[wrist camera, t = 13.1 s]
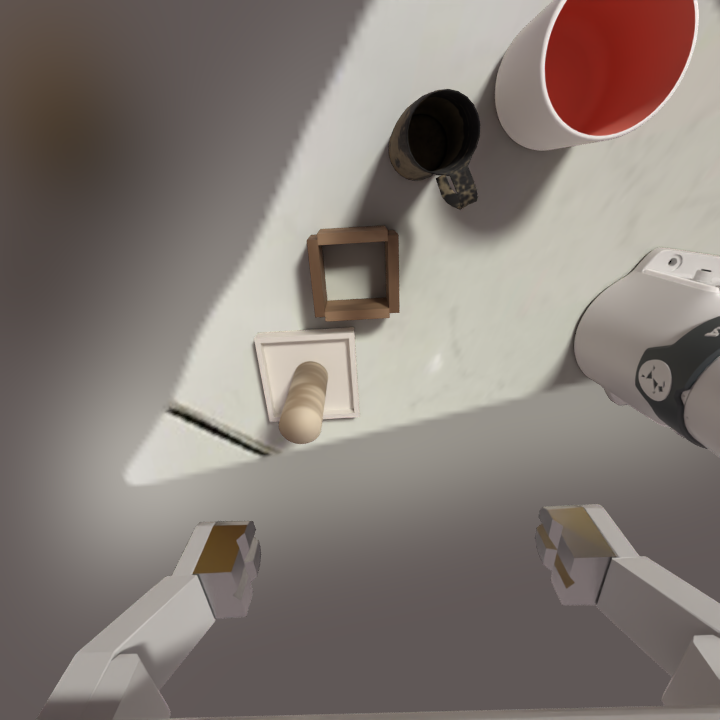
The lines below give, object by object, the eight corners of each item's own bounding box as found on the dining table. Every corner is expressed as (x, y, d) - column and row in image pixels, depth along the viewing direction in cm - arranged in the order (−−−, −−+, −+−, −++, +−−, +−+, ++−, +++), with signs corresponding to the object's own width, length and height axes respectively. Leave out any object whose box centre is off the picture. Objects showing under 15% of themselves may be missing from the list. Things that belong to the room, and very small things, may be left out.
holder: (394, 224, 38) (398, 229, 34) (395, 305, 42) (399, 317, 38) (310, 229, 38) (306, 234, 34) (319, 310, 42) (315, 322, 38)
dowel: (326, 360, 43) (319, 407, 34) (329, 390, 45) (323, 442, 36) (292, 362, 43) (275, 410, 34) (296, 391, 45) (281, 444, 36)
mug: (377, 130, 35) (388, 106, 24) (433, 98, 34) (471, 57, 23) (412, 213, 38) (435, 225, 27) (464, 185, 37) (510, 186, 26)
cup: (592, 147, 35) (673, 135, 26) (485, 155, 36) (530, 145, 26) (616, 10, 31) (723, -62, 22) (495, 19, 31) (552, -48, 22)
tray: (354, 327, 43) (354, 332, 41) (359, 409, 47) (359, 417, 46) (257, 332, 43) (254, 338, 41) (272, 413, 47) (269, 422, 46)
